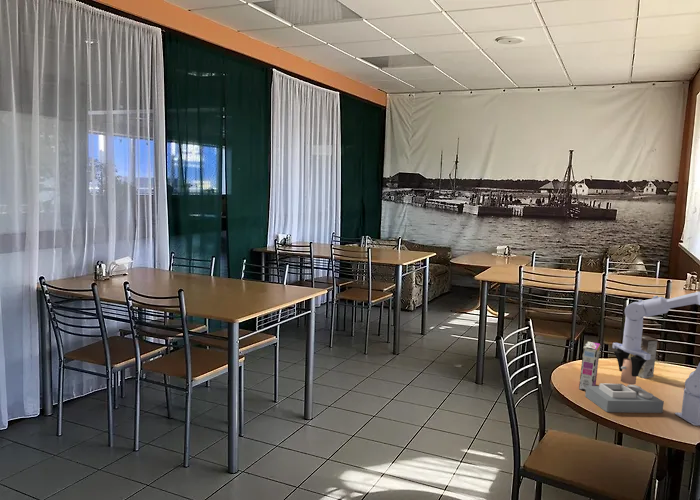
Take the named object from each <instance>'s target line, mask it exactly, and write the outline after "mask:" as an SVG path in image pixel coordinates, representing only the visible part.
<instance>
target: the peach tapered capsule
mask: <svg viewBox="0 0 700 500" xmlns="http://www.w3.org/2000/svg"><path fill="white" fill-rule="evenodd" d="M621 369H622V371H621V374H620V383H621V382H622V384H623V383H624V384H626V385H637V384H636V383H637V378H638V376H635V377H633V376H632V362H631V359H630V358H624V359H623V366H622V367H621Z"/></svg>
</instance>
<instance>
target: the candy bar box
mask: <svg viewBox="0 0 700 500" xmlns="http://www.w3.org/2000/svg"><path fill="white" fill-rule="evenodd" d="M600 348H601V343H598V342H593V341H592V342H591V341H587V342H586V343H585V344H584V346H583V348H582V350H583V351H582V357H581V358H582V360H581V369H580V375H579V384H578V390H580V391H581V390H582V391H585V392H586V386H596V384H597V379H598V378H597V376H598V368H599V359H600V352H601V351H600Z"/></svg>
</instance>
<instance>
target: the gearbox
mask: <svg viewBox="0 0 700 500" xmlns="http://www.w3.org/2000/svg"><path fill="white" fill-rule="evenodd" d="M584 396H585V398H586V399H588V400H589V401H590V402H592V403H593V404H594V405H596V406H597V407H598V408H600V409H601V410H603V411H604V412H606V413H635V414H636V413H639V414H640V413H643V414H645V413H652V414H662V413H664V412H663V410H664V400H662V399H661V398H659V397H657V396H655V395H654V394H653V393H651V392H648V391H646V390H645V389H643V388H642V387H641V386H640V385H639V386H638V385H637V384H626V385H624V384H623V383H605V382H604V383H602V382H601V383H599V385H595V386H586V391H585V394H584Z"/></svg>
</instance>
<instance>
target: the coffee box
mask: <svg viewBox="0 0 700 500" xmlns="http://www.w3.org/2000/svg"><path fill="white" fill-rule="evenodd" d="M658 341H659V339H658V338H654V337H652V336H648V335H644V334H642V339H641V350H643V351H645V352H647V353H649V354H651V358H650V360H647V361H646V362H645V363H644V364H643V366H642V367H641V369H640V372H639V374H638V376H637V377H639V378H642V379H648V378H653V377H654V372H655V365H656V355H657V349H658ZM634 356H635V355H633V354H629V357H628V358H630V359H631V357H634Z"/></svg>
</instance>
